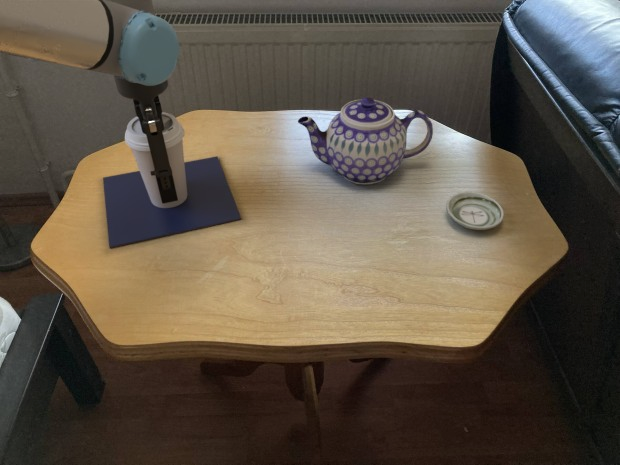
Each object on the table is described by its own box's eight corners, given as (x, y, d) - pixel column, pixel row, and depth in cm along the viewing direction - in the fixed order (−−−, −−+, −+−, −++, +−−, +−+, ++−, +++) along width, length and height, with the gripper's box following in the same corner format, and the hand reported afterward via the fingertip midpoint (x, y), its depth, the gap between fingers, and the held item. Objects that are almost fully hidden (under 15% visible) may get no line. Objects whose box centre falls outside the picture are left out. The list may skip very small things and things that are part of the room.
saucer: (455, 240, 85) (458, 230, 83) (436, 204, 92) (438, 193, 91) (510, 235, 86) (514, 224, 85) (487, 199, 93) (490, 188, 92)
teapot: (420, 147, 106) (432, 79, 96) (434, 193, 95) (449, 121, 84) (298, 147, 106) (298, 78, 96) (298, 193, 94) (297, 121, 84)
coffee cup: (158, 221, 88) (139, 147, 78) (132, 195, 93) (111, 122, 83) (206, 198, 92) (193, 125, 82) (178, 174, 98) (163, 103, 88)
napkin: (109, 248, 83) (109, 246, 83) (103, 179, 97) (102, 177, 97) (241, 219, 89) (241, 218, 89) (217, 157, 103) (217, 156, 102)
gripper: (173, 91, 70) (197, 217, 85) (155, 36, 84) (179, 154, 99) (116, 99, 68) (152, 227, 84) (107, 42, 82) (139, 161, 97)
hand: (166, 187), depth 91 cm, fingers closed on coffee cup, 7 cm apart
